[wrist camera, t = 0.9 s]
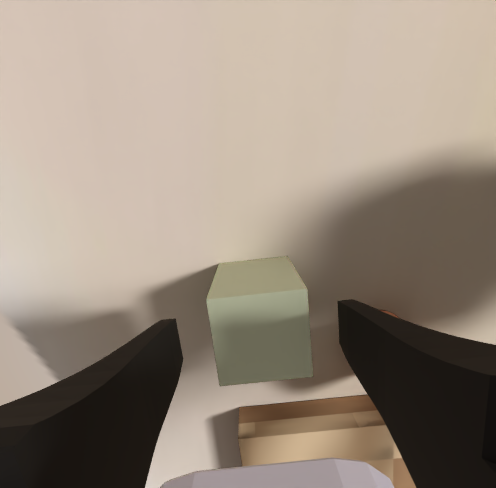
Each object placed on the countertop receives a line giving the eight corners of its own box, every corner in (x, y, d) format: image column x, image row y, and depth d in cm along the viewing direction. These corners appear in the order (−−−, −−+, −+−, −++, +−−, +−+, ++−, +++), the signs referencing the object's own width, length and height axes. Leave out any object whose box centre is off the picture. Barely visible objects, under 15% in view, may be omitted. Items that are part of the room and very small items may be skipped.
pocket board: (482, 383, 17) (517, 412, 15) (470, 509, 19) (498, 550, 17) (239, 407, 17) (238, 439, 15) (256, 529, 19) (257, 571, 17)
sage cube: (287, 255, 15) (307, 288, 10) (292, 318, 16) (313, 376, 11) (219, 263, 15) (206, 299, 10) (227, 325, 16) (219, 386, 11)
